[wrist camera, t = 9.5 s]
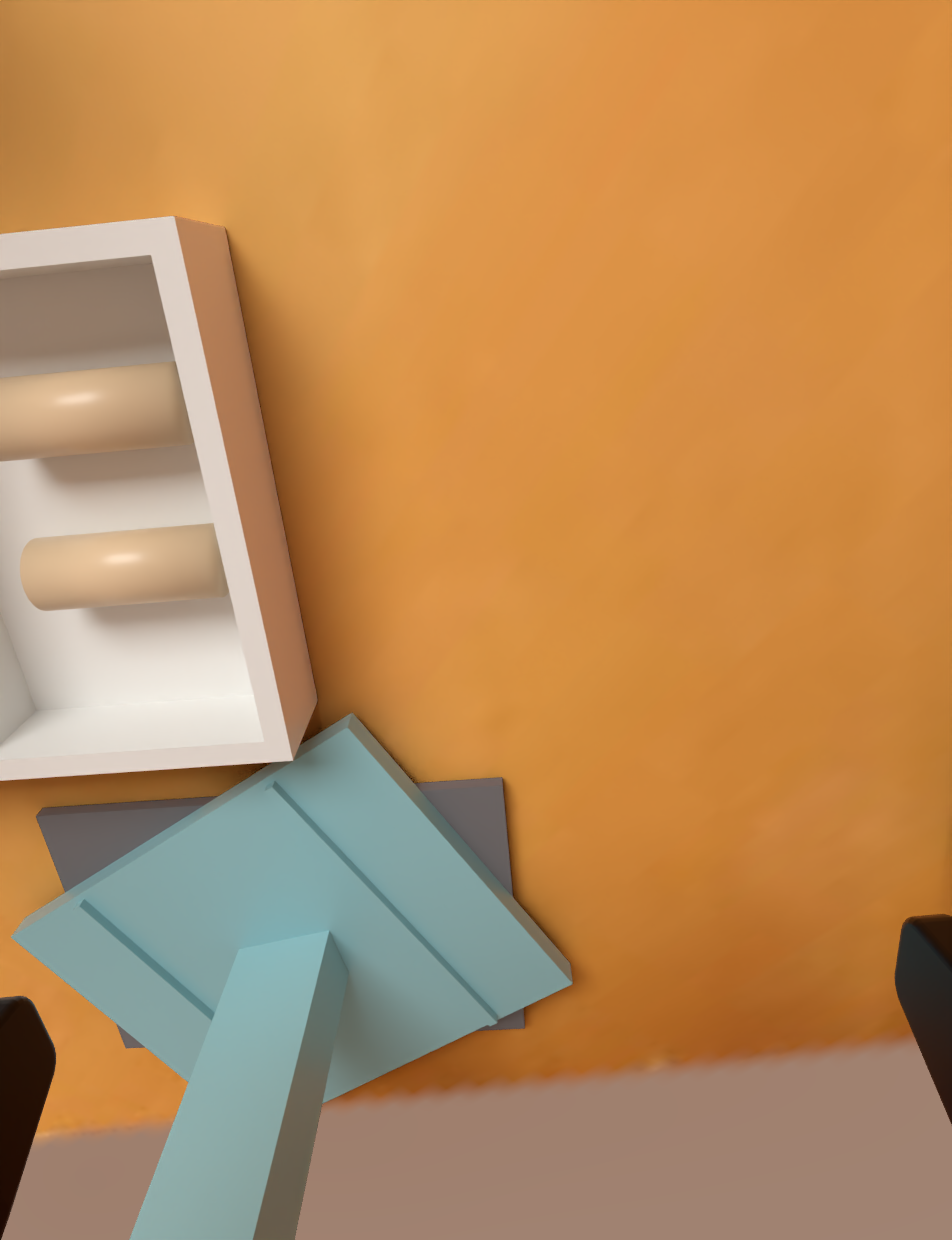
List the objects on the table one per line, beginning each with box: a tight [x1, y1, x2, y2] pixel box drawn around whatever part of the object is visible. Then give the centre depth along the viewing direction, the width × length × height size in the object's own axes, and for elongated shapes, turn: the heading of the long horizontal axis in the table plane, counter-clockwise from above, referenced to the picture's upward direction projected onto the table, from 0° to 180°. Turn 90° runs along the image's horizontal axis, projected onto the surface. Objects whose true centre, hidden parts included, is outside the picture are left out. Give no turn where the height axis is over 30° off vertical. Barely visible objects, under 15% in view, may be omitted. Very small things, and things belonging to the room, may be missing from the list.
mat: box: [36, 777, 525, 1048], centre depth 25 cm, size 14×10×1 cm
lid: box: [11, 713, 573, 1240], centre depth 20 cm, size 13×11×11 cm
